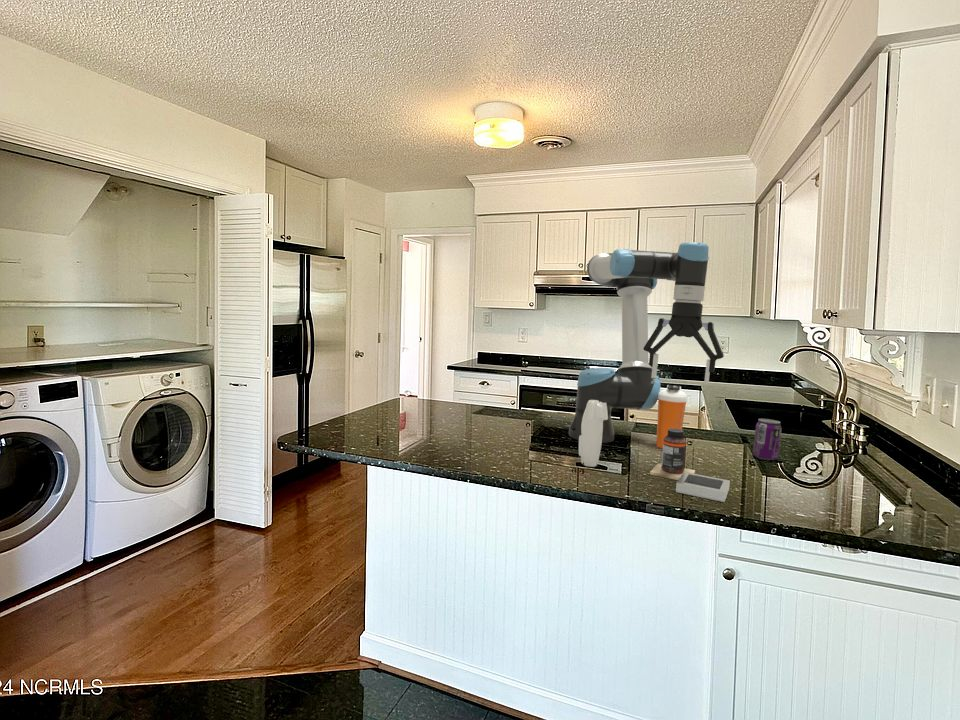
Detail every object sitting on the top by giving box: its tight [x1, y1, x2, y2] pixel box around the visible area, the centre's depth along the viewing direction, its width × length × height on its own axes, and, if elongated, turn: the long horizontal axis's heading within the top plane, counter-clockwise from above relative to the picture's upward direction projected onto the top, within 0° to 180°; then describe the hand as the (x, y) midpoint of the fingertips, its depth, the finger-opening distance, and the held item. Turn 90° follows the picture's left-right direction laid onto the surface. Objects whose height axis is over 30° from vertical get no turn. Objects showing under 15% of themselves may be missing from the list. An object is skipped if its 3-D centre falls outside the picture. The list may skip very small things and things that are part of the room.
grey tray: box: [675, 472, 731, 503], centre depth 138 cm, size 11×11×2 cm
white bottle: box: [578, 400, 608, 468], centre depth 154 cm, size 7×18×7 cm
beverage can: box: [752, 418, 782, 461], centre depth 173 cm, size 7×7×12 cm
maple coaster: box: [649, 463, 696, 481], centre depth 151 cm, size 10×10×1 cm
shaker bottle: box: [655, 384, 688, 450], centre depth 180 cm, size 9×9×20 cm
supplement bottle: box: [660, 428, 688, 473], centre depth 150 cm, size 6×6×11 cm
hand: (679, 381), depth 150 cm, fingers open, 13 cm apart
